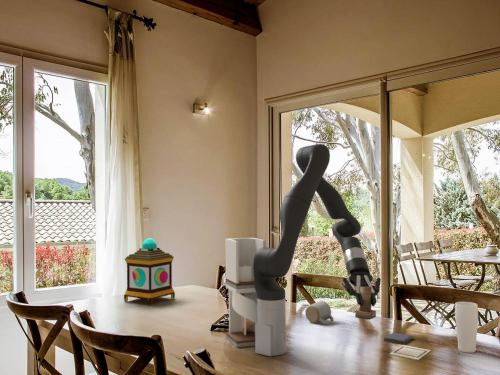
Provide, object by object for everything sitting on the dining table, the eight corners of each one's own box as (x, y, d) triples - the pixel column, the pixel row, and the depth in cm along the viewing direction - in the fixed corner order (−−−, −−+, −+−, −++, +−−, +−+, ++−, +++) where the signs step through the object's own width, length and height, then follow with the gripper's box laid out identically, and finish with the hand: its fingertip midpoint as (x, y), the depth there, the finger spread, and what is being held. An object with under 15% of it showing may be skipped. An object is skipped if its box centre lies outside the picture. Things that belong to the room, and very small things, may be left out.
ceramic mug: (303, 322, 196) (303, 302, 196) (316, 318, 202) (316, 299, 202) (326, 327, 188) (326, 307, 188) (338, 323, 194) (338, 303, 194)
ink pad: (403, 344, 165) (403, 341, 165) (383, 340, 170) (383, 337, 170) (413, 338, 172) (413, 335, 172) (394, 335, 177) (394, 332, 177)
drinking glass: (459, 346, 163) (458, 300, 163) (481, 350, 159) (480, 303, 159) (452, 351, 158) (452, 304, 158) (475, 355, 153) (474, 307, 154)
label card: (418, 360, 149) (418, 359, 150) (389, 354, 155) (389, 353, 155) (430, 351, 158) (430, 350, 158) (403, 345, 164) (403, 344, 164)
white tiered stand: (226, 338, 174) (225, 238, 175) (254, 335, 178) (253, 237, 178) (236, 347, 163) (235, 241, 164) (266, 343, 167) (265, 240, 168)
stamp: (369, 319, 161) (369, 289, 162) (355, 317, 165) (355, 287, 165) (375, 317, 165) (375, 287, 166) (362, 314, 168) (362, 285, 169)
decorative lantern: (179, 299, 241) (178, 237, 242) (150, 306, 225) (150, 240, 225) (148, 294, 252) (148, 236, 252) (119, 302, 235) (119, 239, 236)
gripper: (338, 256, 172) (349, 298, 160) (378, 256, 174) (391, 298, 161) (334, 269, 177) (344, 311, 165) (372, 269, 179) (385, 310, 166)
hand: (367, 304), depth 163 cm, fingers closed on stamp, 3 cm apart
